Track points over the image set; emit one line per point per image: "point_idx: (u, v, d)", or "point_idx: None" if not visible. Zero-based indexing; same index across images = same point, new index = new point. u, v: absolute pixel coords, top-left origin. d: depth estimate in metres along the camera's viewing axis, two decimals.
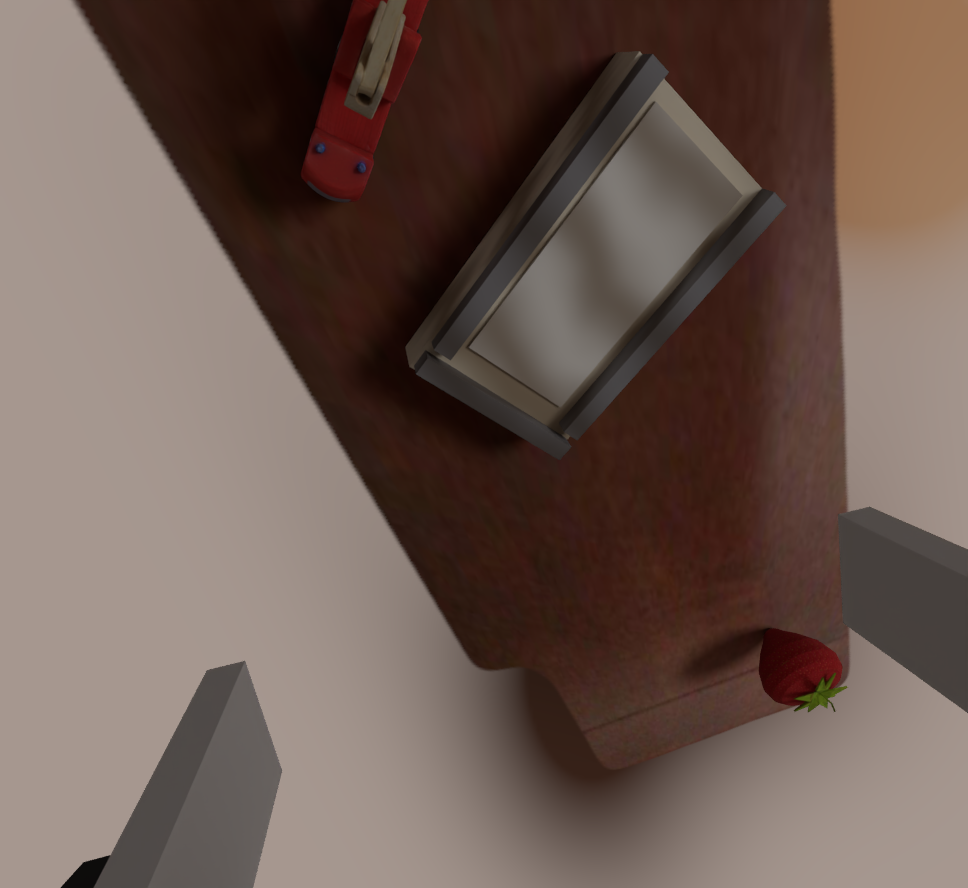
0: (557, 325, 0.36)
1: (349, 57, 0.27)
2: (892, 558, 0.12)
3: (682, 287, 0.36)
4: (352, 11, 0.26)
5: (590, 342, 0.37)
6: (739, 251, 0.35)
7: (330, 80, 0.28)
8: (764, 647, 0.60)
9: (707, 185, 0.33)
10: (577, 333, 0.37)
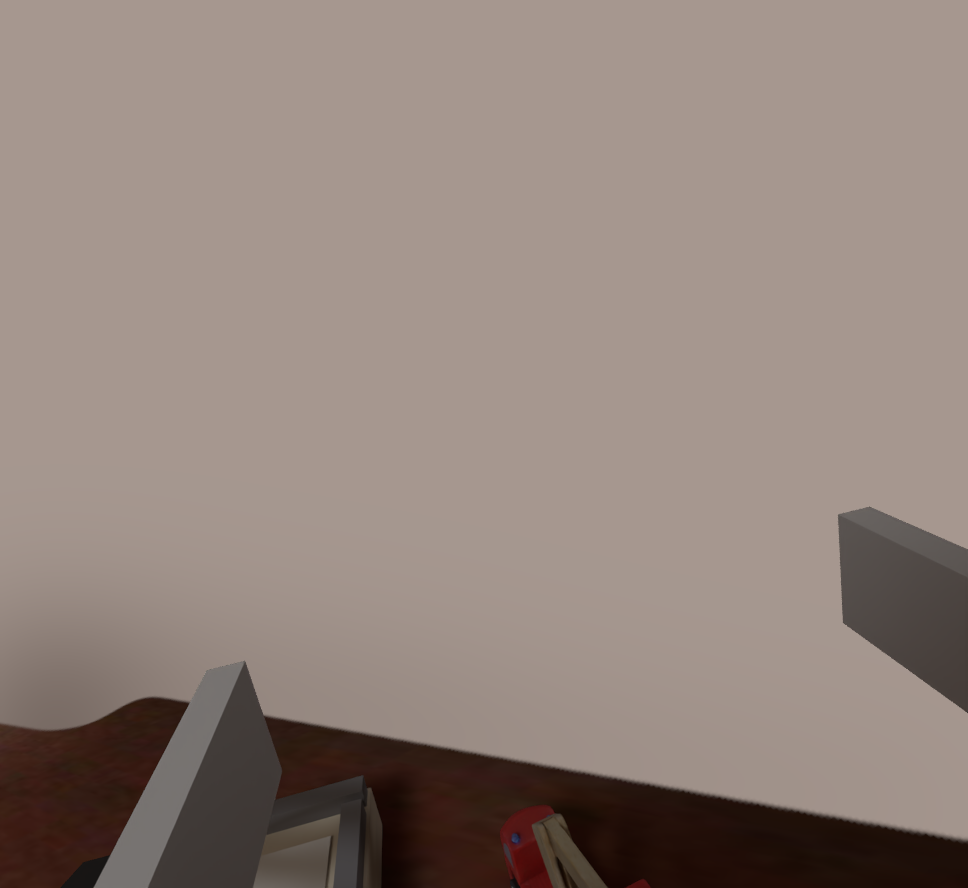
0: None
1: None
2: (892, 557, 0.12)
3: None
4: None
5: None
6: None
7: None
8: None
9: None
10: None
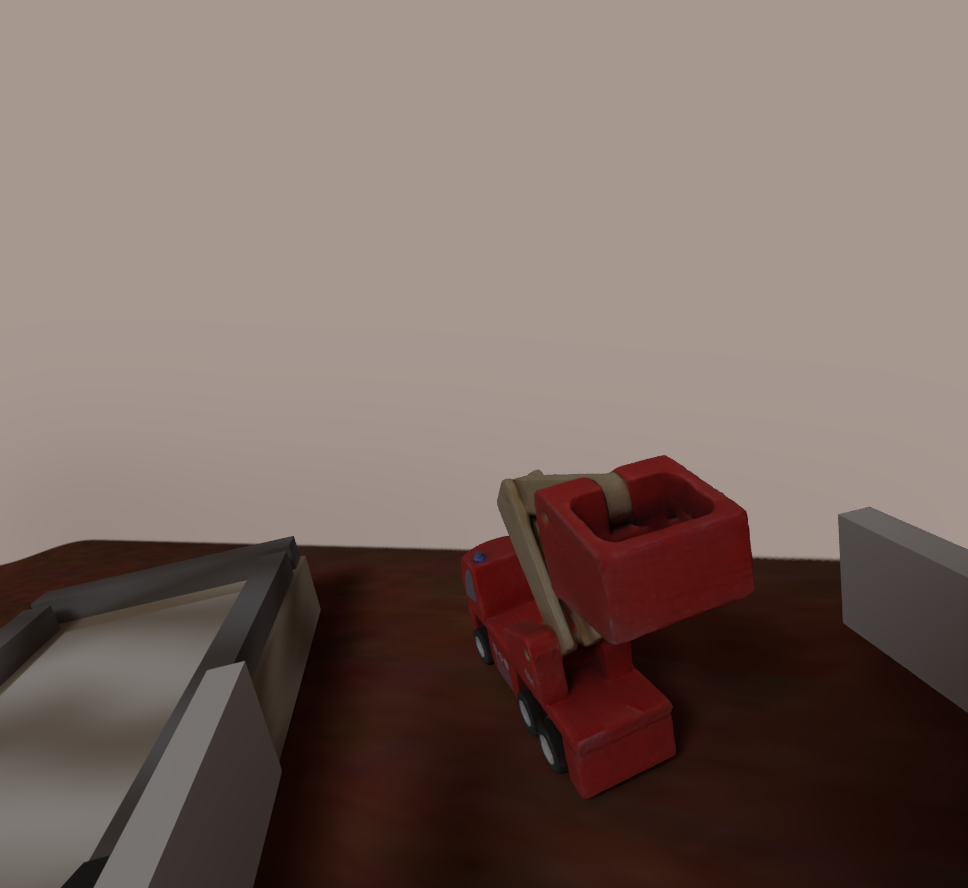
0: (113, 666, 0.22)
1: None
2: (892, 557, 0.12)
3: None
4: None
5: (38, 688, 0.22)
6: None
7: None
8: None
9: None
10: (70, 680, 0.22)
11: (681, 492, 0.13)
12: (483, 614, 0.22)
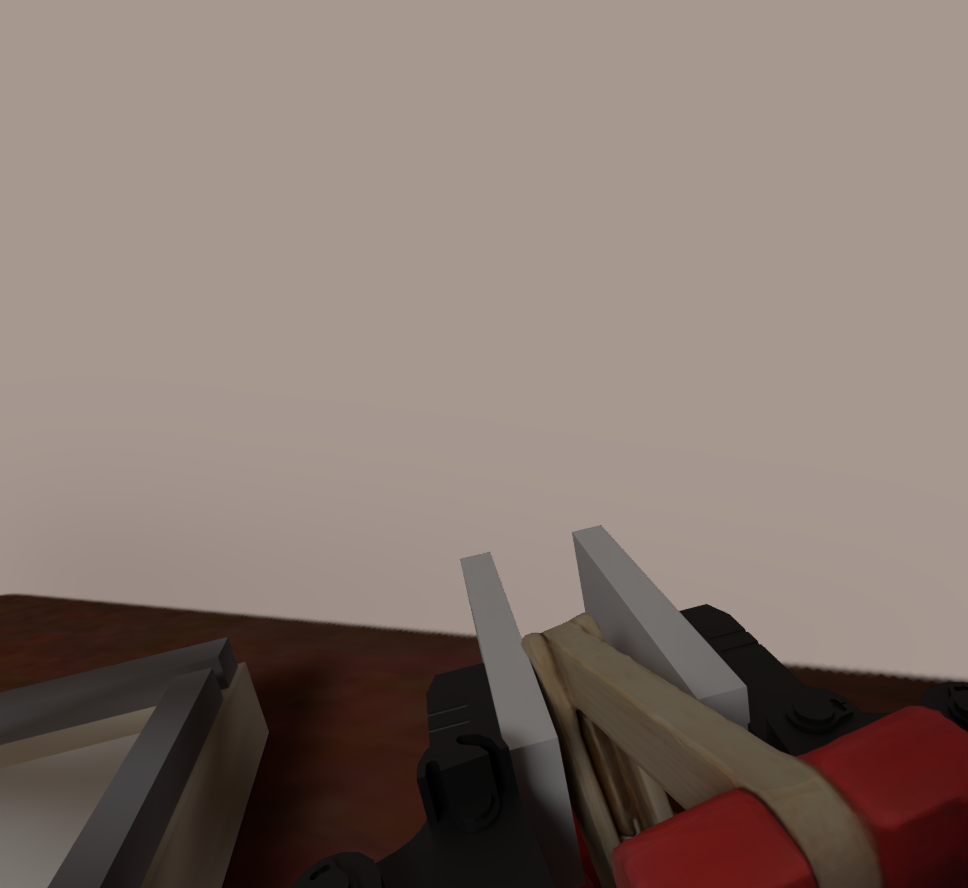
0: None
1: None
2: (592, 571, 0.14)
3: None
4: None
5: None
6: None
7: None
8: None
9: None
10: None
11: None
12: None
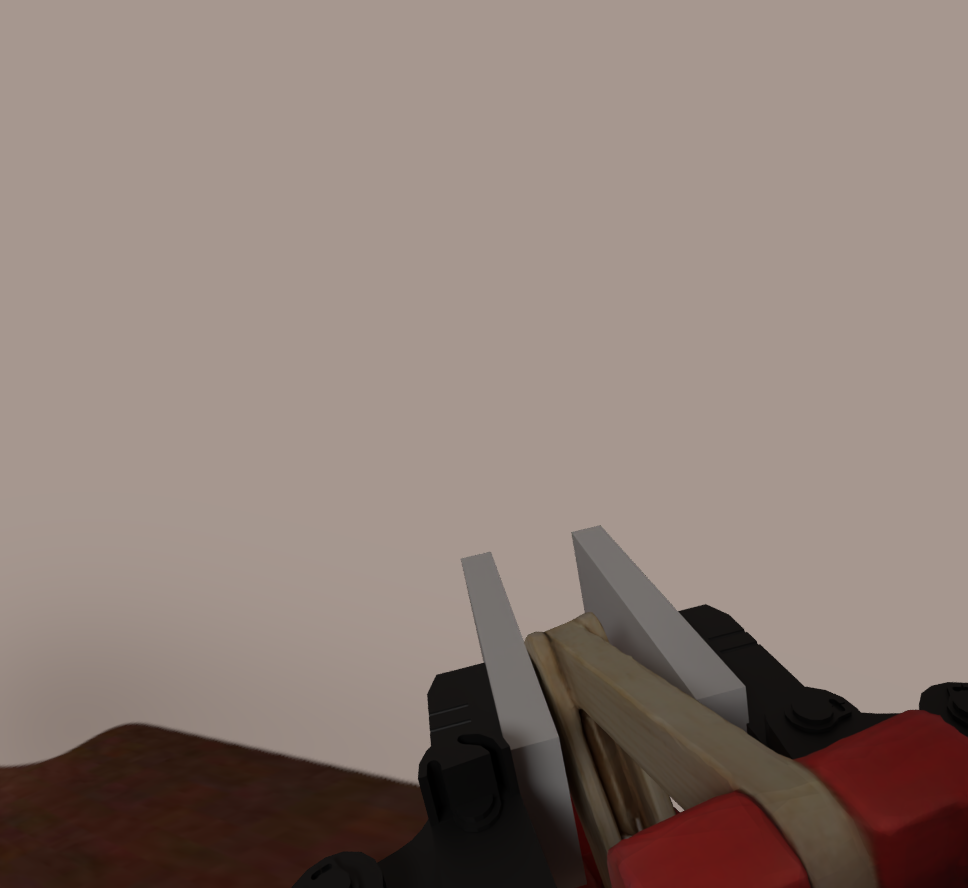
0: None
1: None
2: (592, 571, 0.14)
3: None
4: None
5: None
6: None
7: None
8: None
9: None
10: None
11: None
12: None
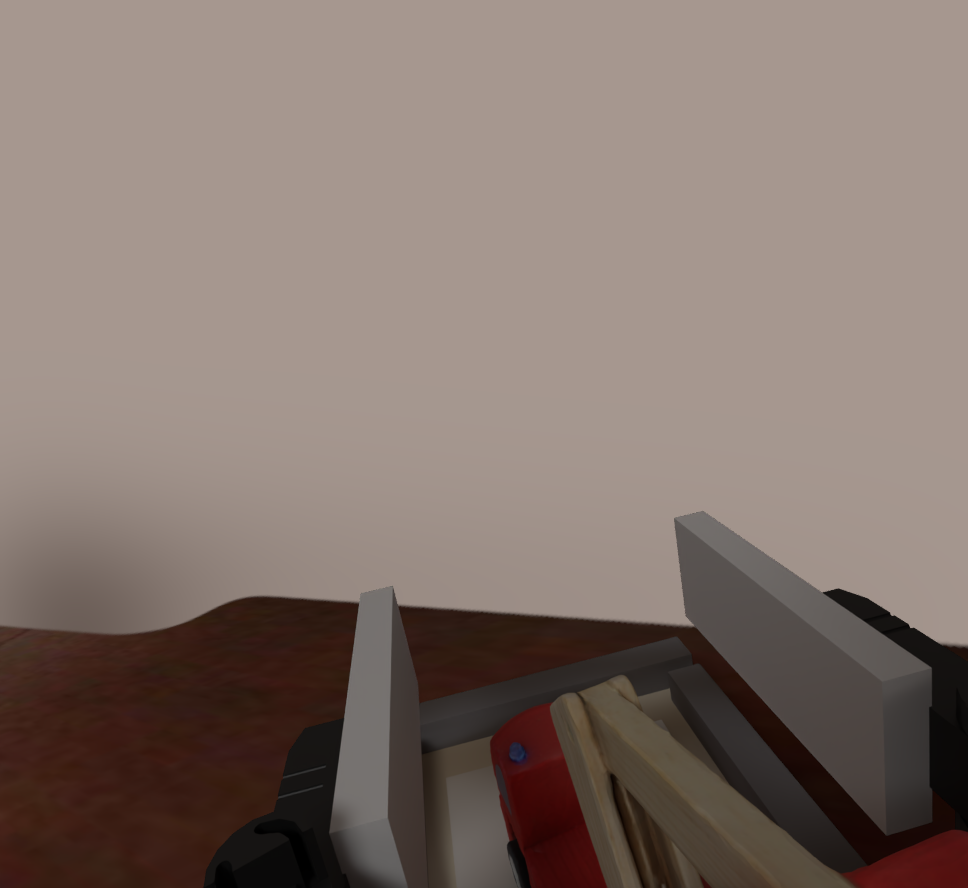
0: None
1: None
2: (705, 556, 0.13)
3: None
4: None
5: None
6: None
7: None
8: None
9: None
10: None
11: None
12: (522, 841, 0.14)
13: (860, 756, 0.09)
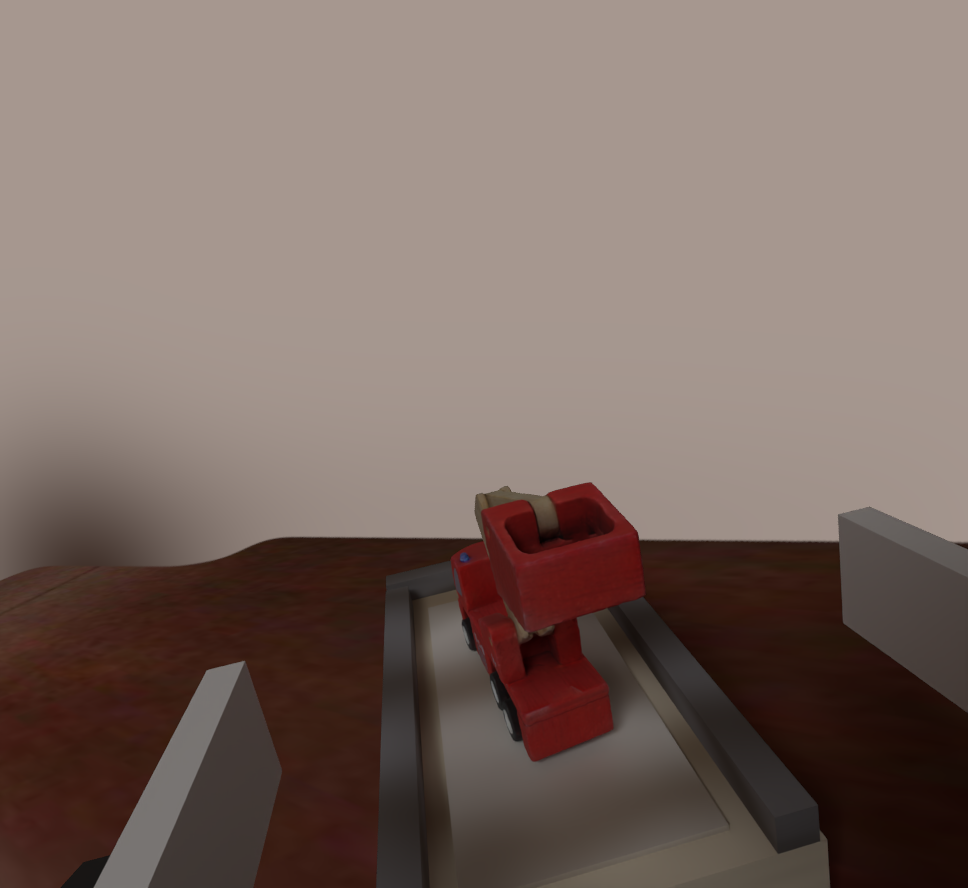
0: None
1: None
2: (892, 558, 0.12)
3: (419, 747, 0.21)
4: None
5: (464, 648, 0.27)
6: (389, 819, 0.18)
7: None
8: None
9: (531, 850, 0.17)
10: None
11: (597, 513, 0.16)
12: (467, 607, 0.26)
13: None
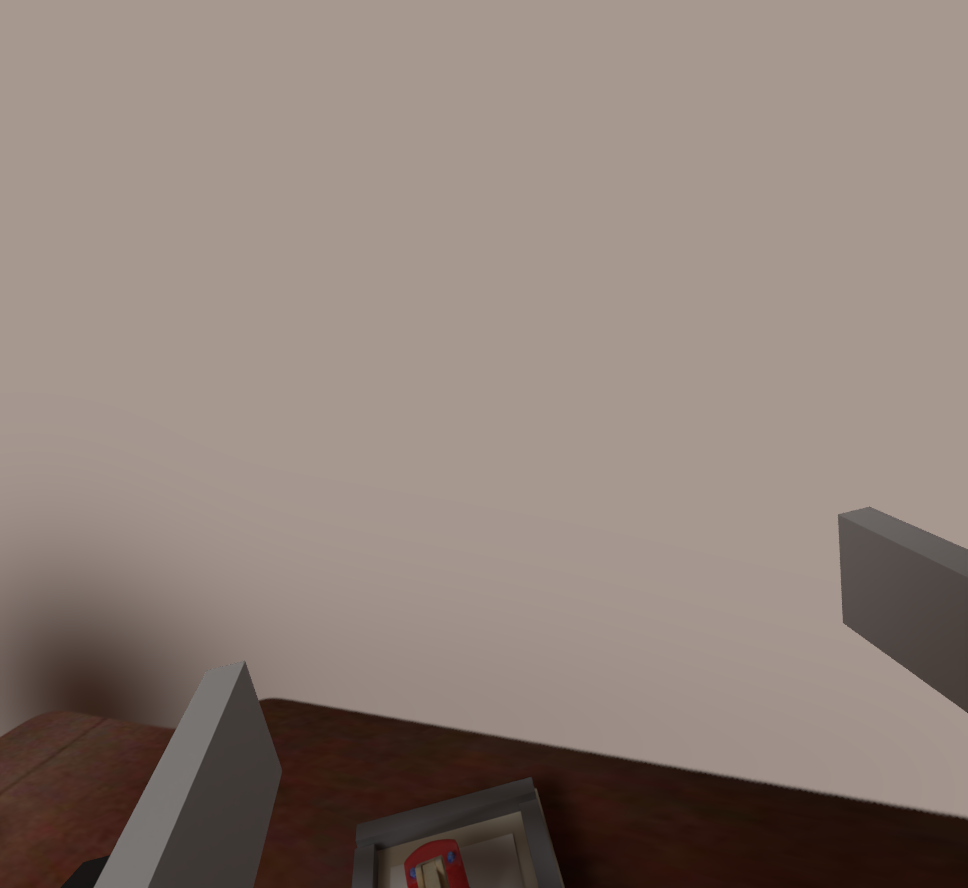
0: None
1: None
2: (892, 558, 0.12)
3: None
4: None
5: None
6: None
7: None
8: None
9: None
10: None
11: None
12: None
13: None
